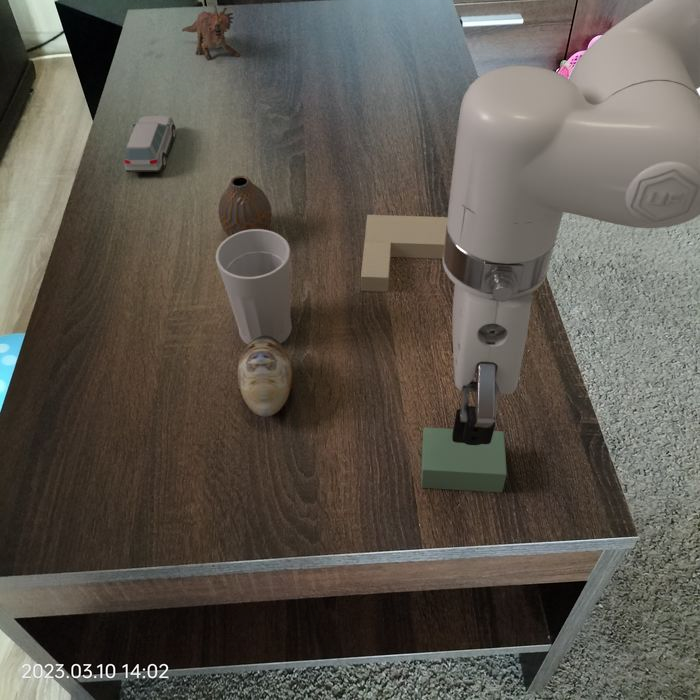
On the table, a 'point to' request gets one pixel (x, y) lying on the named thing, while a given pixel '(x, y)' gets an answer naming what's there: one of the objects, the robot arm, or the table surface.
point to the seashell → (265, 375)
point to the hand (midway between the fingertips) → (469, 394)
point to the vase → (244, 207)
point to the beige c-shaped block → (398, 245)
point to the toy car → (149, 144)
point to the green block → (462, 462)
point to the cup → (257, 282)
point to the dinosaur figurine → (212, 31)
